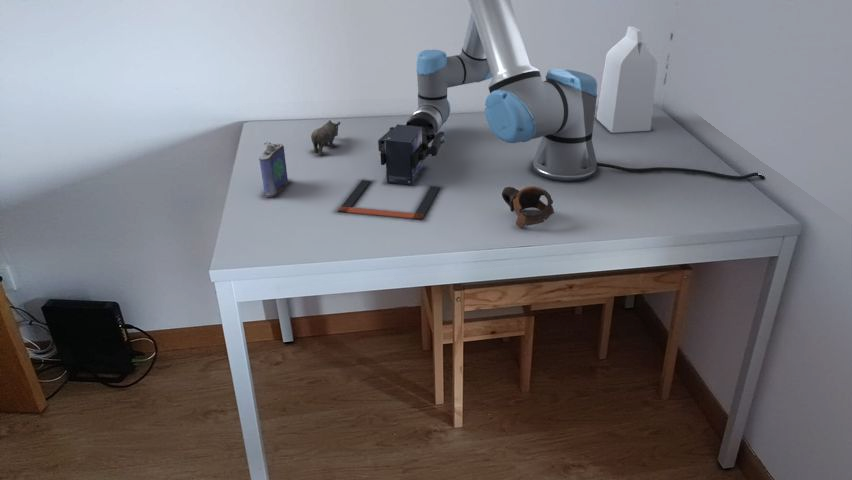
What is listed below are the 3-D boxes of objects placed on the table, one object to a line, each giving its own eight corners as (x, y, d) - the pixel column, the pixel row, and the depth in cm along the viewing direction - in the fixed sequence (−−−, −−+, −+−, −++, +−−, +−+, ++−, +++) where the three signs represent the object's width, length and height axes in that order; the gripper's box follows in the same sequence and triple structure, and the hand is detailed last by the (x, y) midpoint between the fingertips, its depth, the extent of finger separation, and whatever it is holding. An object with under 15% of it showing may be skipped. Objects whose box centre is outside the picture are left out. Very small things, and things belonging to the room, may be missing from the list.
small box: (413, 186, 156) (411, 141, 151) (385, 183, 157) (382, 139, 152) (424, 168, 165) (423, 125, 160) (398, 165, 166) (395, 123, 161)
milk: (596, 118, 200) (606, 24, 186) (633, 116, 202) (645, 23, 188) (611, 132, 190) (623, 34, 176) (650, 130, 192) (665, 33, 178)
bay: (439, 188, 156) (439, 186, 156) (422, 219, 143) (422, 218, 142) (362, 181, 158) (362, 179, 158) (338, 211, 145) (337, 210, 144)
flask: (273, 198, 149) (266, 151, 143) (260, 197, 149) (252, 149, 144) (291, 181, 157) (284, 135, 151) (278, 180, 157) (271, 134, 152)
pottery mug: (559, 215, 147) (563, 192, 140) (538, 248, 143) (541, 227, 136) (509, 190, 150) (512, 167, 142) (487, 222, 146) (488, 200, 138)
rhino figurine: (347, 137, 181) (345, 115, 178) (324, 156, 170) (321, 133, 166) (332, 135, 182) (330, 113, 178) (309, 154, 170) (306, 131, 167)
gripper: (461, 143, 174) (440, 180, 154) (386, 137, 176) (357, 172, 156) (461, 114, 170) (440, 148, 150) (385, 108, 172) (354, 140, 152)
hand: (397, 160), depth 153 cm, fingers closed on small box, 6 cm apart
